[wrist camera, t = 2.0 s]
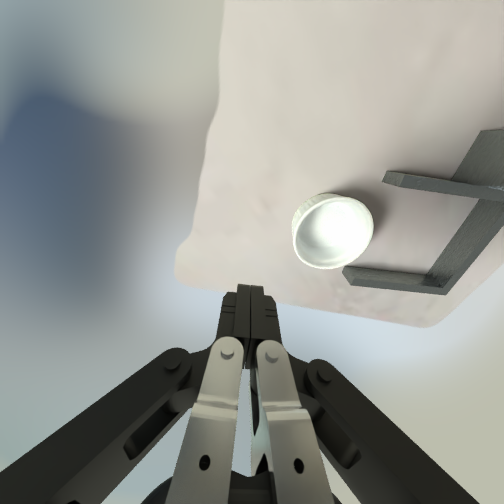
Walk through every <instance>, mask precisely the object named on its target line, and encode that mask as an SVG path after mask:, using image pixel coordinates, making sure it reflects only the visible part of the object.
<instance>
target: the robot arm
mask: <svg viewBox="0 0 504 504" xmlns="http://www.w3.org/2000/svg"><path fill="white" fill-rule="evenodd" d="M244 365H245V369H250V382H249V401H250V419H251V437H252V440H251V475H252V477H246V476H244V475H241V474H239V473H237V472H235V471H232V470H231V468H232V459H233V449H234V441H235V431H236V422H237V412H238V411H237V410H238V397H239V389H240V380H241V373H242V369H244ZM192 407H193V408H192ZM189 408H192V411H191V415H190V418H189V422H188V425H187V428H186V432H185V436H184V439H183V443H182V446H181V450H180V453H179V457H178V460H177V463H176V467H175V470H174V474H173V476H172V477H170V478H169V479H167V480H166V481H164V482H163V483H161V484H160V485H159V486H158V487H157V488H156V489H154V490H153V491H152V492H151V493H150V494H149V495H148V496H147V497H146V499H145V500H144V501H143V502H142V503H141V504H342V503H341V502H340V501H339V500H338V498H337V497H336V496H335V495H334V494H333V493H332V492H331V489H330V486H329V482H328V479H327V475H326V471H325V468H324V464H323V460H322V457H321V453H320V450H321V451H322V453H323V454H324V455H325V457H326V458H327V459H328V461H329V462H330V463H331V465H332V466H333V467H334V468H335V470H336V471H337V472H338V474H339V475H340V476H341V478H342V479H343V480H344V482H345V483H346V484H347V486H348V487H349V488H350V490H351V491H352V492H353V494H354V495H355V496H356V497H357V499H358V500H359V501H360V503H361V504H479V503H478V502H477V501H476V500H475V499H474V498H473V497H472V496H471V495H470V494H469V493H468V492H466V490H464V489H463V488H462V487H461V486H460V485H459V484H458V483H457V482H456V481H455V480H454V479H453V478H452V477H451V476H449V475H448V474H447V473H446V472H445V471H444V470H443V469H442V468H441V467H440V466H439V465H438V464H437V463H436V462H435V461H434V460H433V459H431V458H430V457H429V456H428V455H427V454H426V453H425V452H424V451H423V450H422V449H421V448H420V447H419V446H418V445H417V444H415V443H414V442H413V441H412V440H411V439H410V438H409V437H408V436H407V435H406V434H405V433H404V432H403V431H402V430H401V429H399V428H398V427H397V426H396V425H395V424H394V423H393V422H392V421H391V420H390V419H389V418H388V417H387V416H386V415H385V414H384V413H382V412H381V411H380V410H379V409H378V408H377V407H376V406H375V405H374V404H373V403H372V402H371V401H370V400H369V399H368V398H367V397H366V396H364V395H363V394H362V393H361V392H360V391H359V390H358V389H357V388H356V387H355V386H354V385H353V384H352V383H351V382H349V380H347V379H346V378H345V377H344V376H343V375H342V374H341V373H340V372H339V371H338V370H337V369H336V368H334V366H332V365H331V364H330V363H328V362H327V361H325V360H321V359H314V360H312V361H311V362H310V363H307V362H304V361H302V360H299V359H297V358H295V357H293V356H292V355H290V354H289V353H288V352H287V351H286V349H285V348H284V346H283V344H282V340H281V334H280V327H279V321H278V315H277V309H276V302H275V301H274V300H273V298H272V297H271V296H267V295H264V290H263V286H255V285H251V286H250V285H244V284H238V286H237V293H235V292H227V294H226V295H225V296H224V297H223V301H222V307H221V313H220V319H219V324H218V329H217V335H216V339H215V341H214V342H213V344H212V345H211V346H210V347H208V348H207V349H205V350H202V351H199V352H195V353H191V354H189V353H188V351H186V350H185V349H182V348H171V349H168V350H166V351H165V352H163V353H162V354H161V355H159V356H158V357H156V358H155V359H153V360H152V361H151V362H150V363H148V364H147V365H145V366H144V367H143V368H141V369H140V370H139V371H137V372H136V373H134V374H133V375H132V376H130V377H129V378H128V379H126V380H125V381H124V382H122V383H121V384H119V385H118V386H117V387H115V388H114V389H113V390H111V391H110V392H109V393H107V394H106V395H105V396H103V397H102V398H100V399H99V400H98V401H96V402H95V403H94V404H92V405H91V406H90V407H88V408H87V409H86V410H84V411H83V412H81V413H80V414H79V415H77V416H76V417H75V418H74V419H72V420H71V421H69V422H68V423H67V424H65V425H64V426H62V427H61V428H60V429H58V430H57V431H56V432H54V433H53V434H52V435H50V436H49V437H48V438H46V439H45V440H44V441H42V442H41V443H40V444H38V445H37V446H35V447H34V448H33V449H32V450H30V451H29V452H27V453H26V454H24V455H23V456H22V457H20V458H19V459H18V460H16V461H15V462H14V463H12V464H11V465H10V466H8V467H7V468H5V469H4V470H3V471H1V472H0V504H101V503H102V502H103V501H104V499H105V498H106V497H107V496H108V495H109V494H110V493H111V492H112V491H113V490H114V489H115V488H116V487H117V486H118V484H119V483H120V482H121V481H122V480H123V479H124V478H125V477H126V476H127V475H128V474H129V473H130V472H131V471H132V469H133V468H134V467H135V466H136V465H137V464H138V463H139V462H140V461H141V460H142V459H143V458H144V457H145V455H146V454H147V453H148V452H149V451H150V450H151V449H152V448H153V447H154V446H155V445H156V444H157V442H159V440H160V439H161V438H162V437H163V436H164V435H165V434H166V433H167V432H168V431H169V430H170V429H171V427H172V426H173V425H174V424H175V423H176V422H177V421H178V420H179V419H180V418H181V417H182V416H183V415H184V414H185V412H186V411H187V410H188V409H189ZM319 449H320V450H319ZM294 466H295V467H294Z"/></svg>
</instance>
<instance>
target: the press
mask: <svg viewBox="0 0 504 504" xmlns="http://www.w3.org/2000/svg"><path fill="white" fill-rule="evenodd" d="M382 182H384V183H388V184H391V185H395V186H398V187H404V188H410V189H417V190H424V191H431V192H438V193H445V194H452V195H459V196H466V197H473V198H479V199H480V200H479V202H478V203H477V204H476V206H475V207H474V209H473V210H472V211H471V213H470V214H469V216H468V217H467V219H466V220H465V221H464V223H463V224H462V226H461V227H460V228H459V230H458V231H457V233H456V234H455V235H454V237H453V238H452V240H451V241H450V242H449V244H448V245H447V247H446V248H445V249H444V251H443V252H442V254H441V255H440V257H439V258H438V259H437V261H436V262H435V264H434V265H433V266H432V268H431V269H430V271H429V272H428V273H427V275H420V274H411V273H403V272H394V271H385V270H376V269H367V268H358V267H349V266H345V267H344V269H343V271H342V273H343V275H344V276H345V278H346V279H347V281H348V282H349V283H350V285H353V286H362V287H372V288H381V289H391V290H400V291H410V292H419V293H428V294H438V295H447V293H448V292H449V291H450V290H451V288H452V287H453V286H454V285H455V284H456V282H457V281H458V280H459V279H460V278H461V276H462V275H463V274H464V273H465V271H466V270H467V269H468V268H469V267H470V265H471V264H472V263H473V262H474V261H475V259H476V258H477V257H478V256H479V254H480V253H481V252H482V251H483V250H484V248H485V247H486V246H487V245H488V244H489V242H490V241H491V240H492V239H493V238H494V236H495V235H496V234H497V233H498V231H499V230H500V229H501V228H502V227H503V225H504V130H490V131H481V132H480V133H479V135H478V137H477V138H476V140H475V142H474V143H473V145H472V147H471V148H470V150H469V152H468V153H467V155H466V157H465V158H464V160H463V161H462V163H461V165H460V166H459V168H458V170H457V171H456V173H455V175H454V176H453V178H452V180H451V181H450V180H444V179H437V178H431V177H424V176H417V175H411V174H404V173H397V172H391V171H387V172H386V174H385V176H384V178H383V181H382Z"/></svg>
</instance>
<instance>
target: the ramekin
mask: <svg viewBox="0 0 504 504" xmlns="http://www.w3.org/2000/svg"><path fill="white" fill-rule="evenodd" d="M373 229H374V223H373V218H372V215H371V213H370V211H369V210H368V208H367V207H366V206H365V205H364V204H363V203H361V202H360V201H358V200H356V199H353V198H350V197H344V196H340V195H337V194H329V193H326V194H320V195H317V196H314V197H312V198H310V199H308V200H307V201H305V202H304V203H303V204H302V205H301V206H300V207H299V208H298V210H297V211H296V213H295V215H294V217H293V221H292V234H293V246H294V249H295V252H296V254H297V256H298V257H299V258H300V259H301V260H302V261H303V262H304V263H305V264H307V265H309V266H311V267H315V268H319V269H333V268H337V267H341V266H344V265H346V264H348V263H350V262H352V261H353V260H355V259H356V258H357V257H359V256H360V255H361V254H362V253H363V251H364V250H365V249H366V248H367V246H368V244H369V243H370V241H371V238H372V235H373Z"/></svg>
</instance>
